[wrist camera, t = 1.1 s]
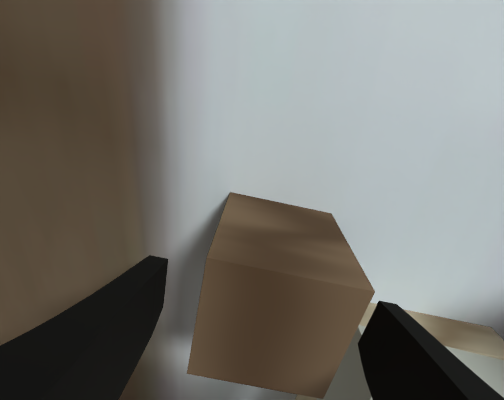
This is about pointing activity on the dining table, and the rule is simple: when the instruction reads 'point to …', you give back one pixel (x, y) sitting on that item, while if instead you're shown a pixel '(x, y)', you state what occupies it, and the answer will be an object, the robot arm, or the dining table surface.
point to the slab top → (356, 389)
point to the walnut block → (277, 298)
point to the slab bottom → (450, 335)
